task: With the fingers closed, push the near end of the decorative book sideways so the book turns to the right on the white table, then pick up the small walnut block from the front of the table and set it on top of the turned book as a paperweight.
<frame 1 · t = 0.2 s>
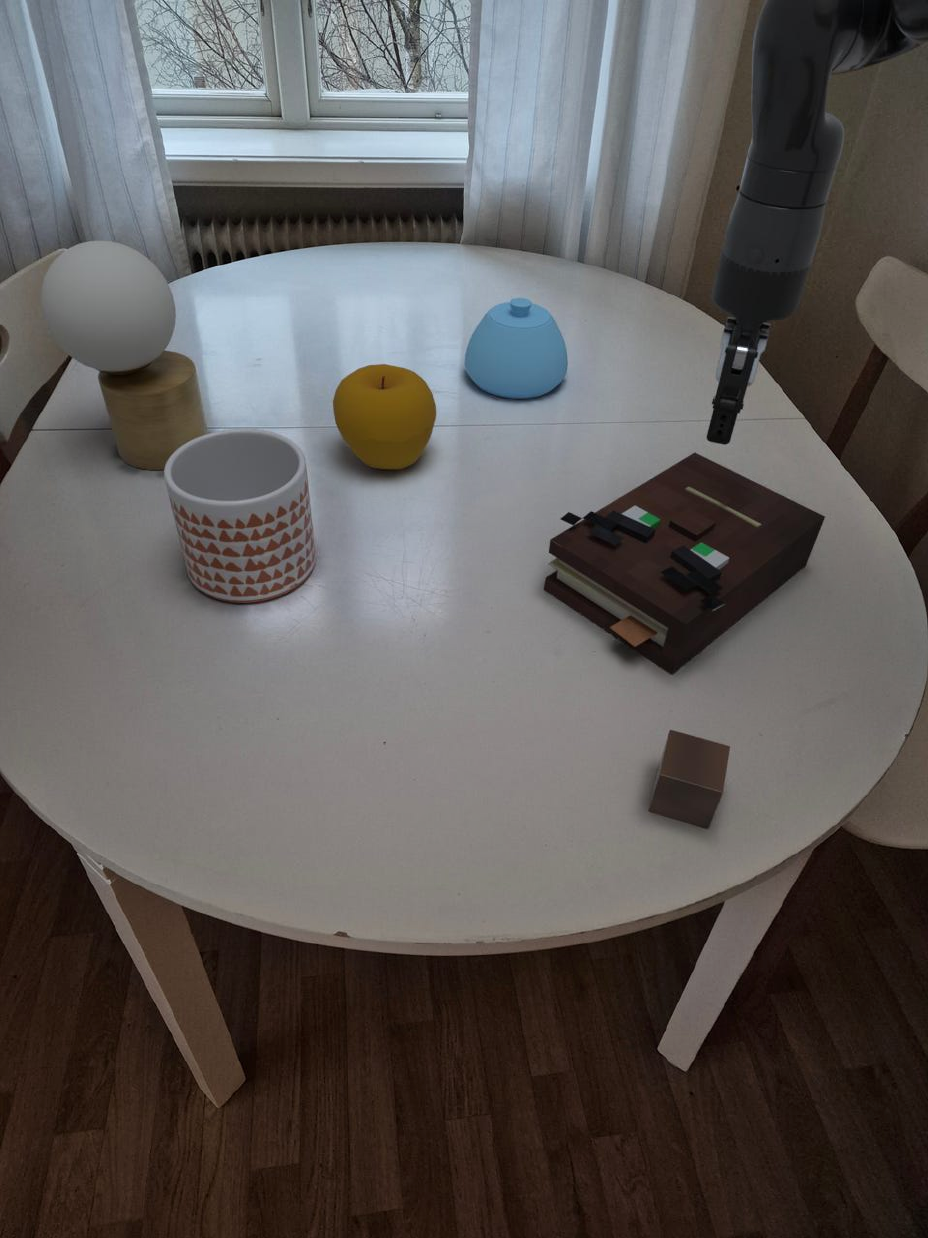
hand: (722, 420, 85), 18 cm above the table, tool pointing down, fingers open, 8 cm apart
lamp: (149, 447, 110), on the table
apple: (386, 458, 110), on the table
planter: (252, 564, 94), on the table
sugar bowl: (514, 379, 127), on the table
walnut block: (682, 796, 73), on the table
decorative book: (677, 578, 94), on the table
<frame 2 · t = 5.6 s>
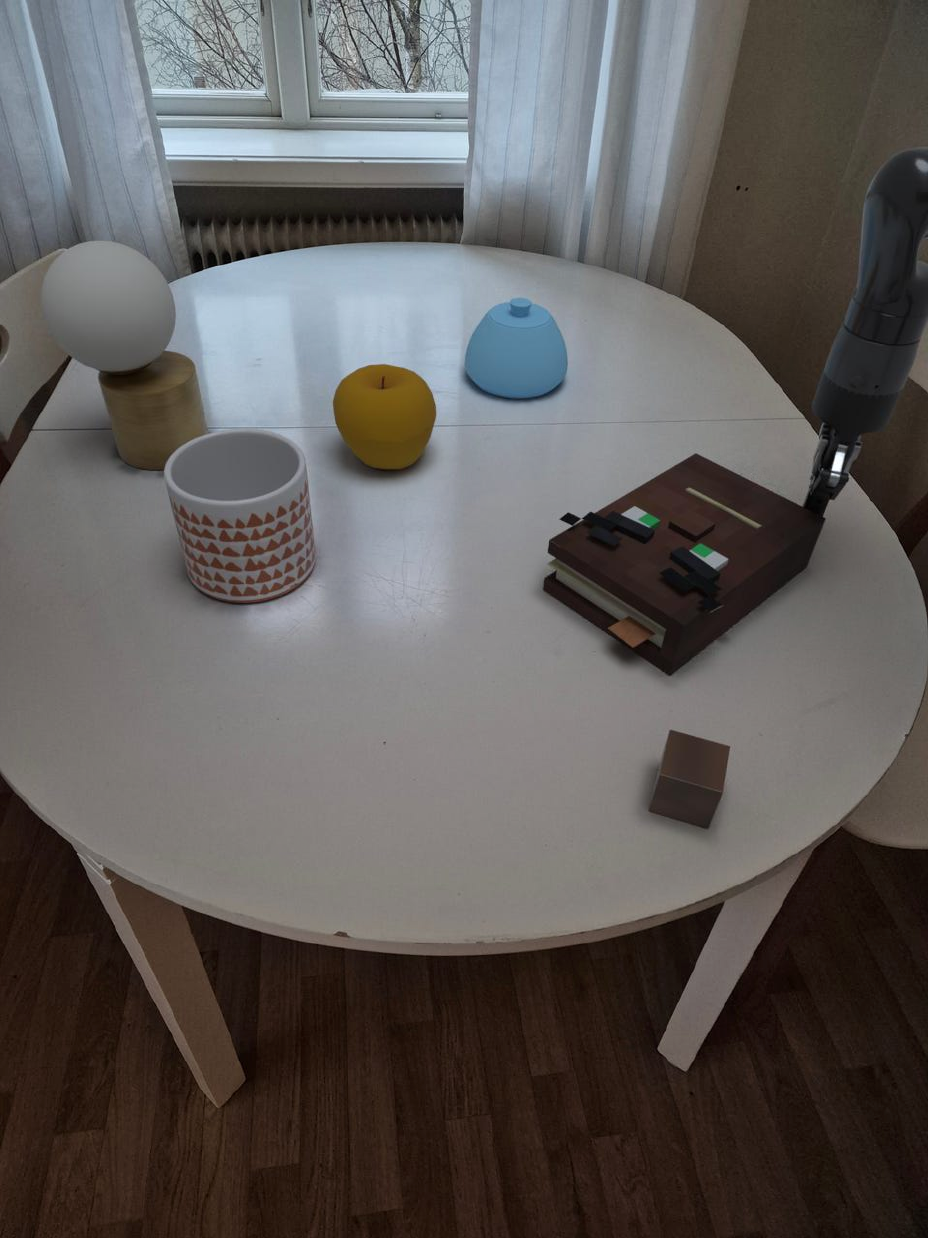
hand: (810, 516, 96), 5 cm above the table, tool pointing down, fingers closed
decorative book: (677, 579, 94), on the table, touching gripper
everything else where it was.
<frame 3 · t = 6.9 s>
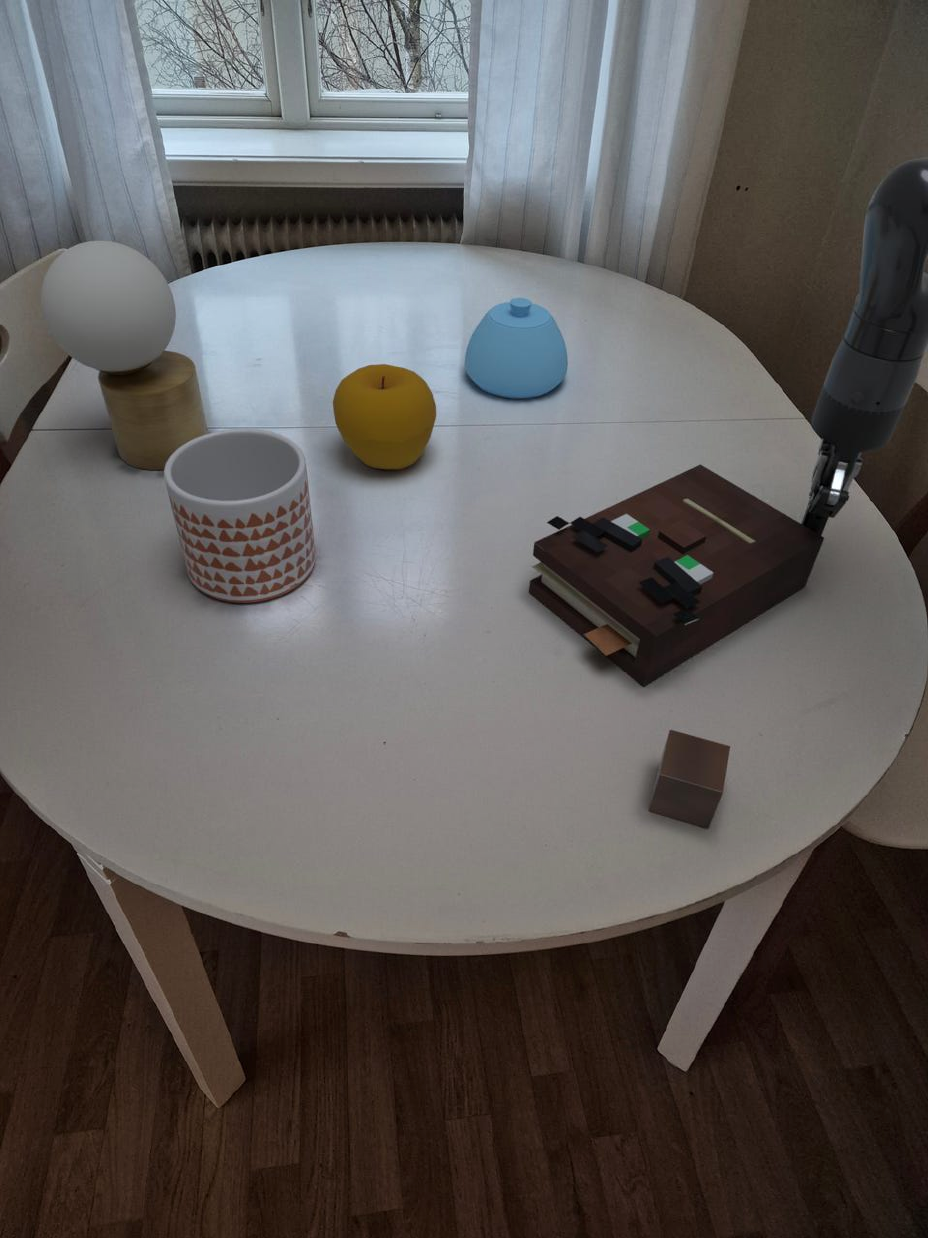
hand: (809, 533, 93), 5 cm above the table, tool pointing down, fingers closed
decorative book: (668, 591, 93), on the table, touching gripper
everything else where it was.
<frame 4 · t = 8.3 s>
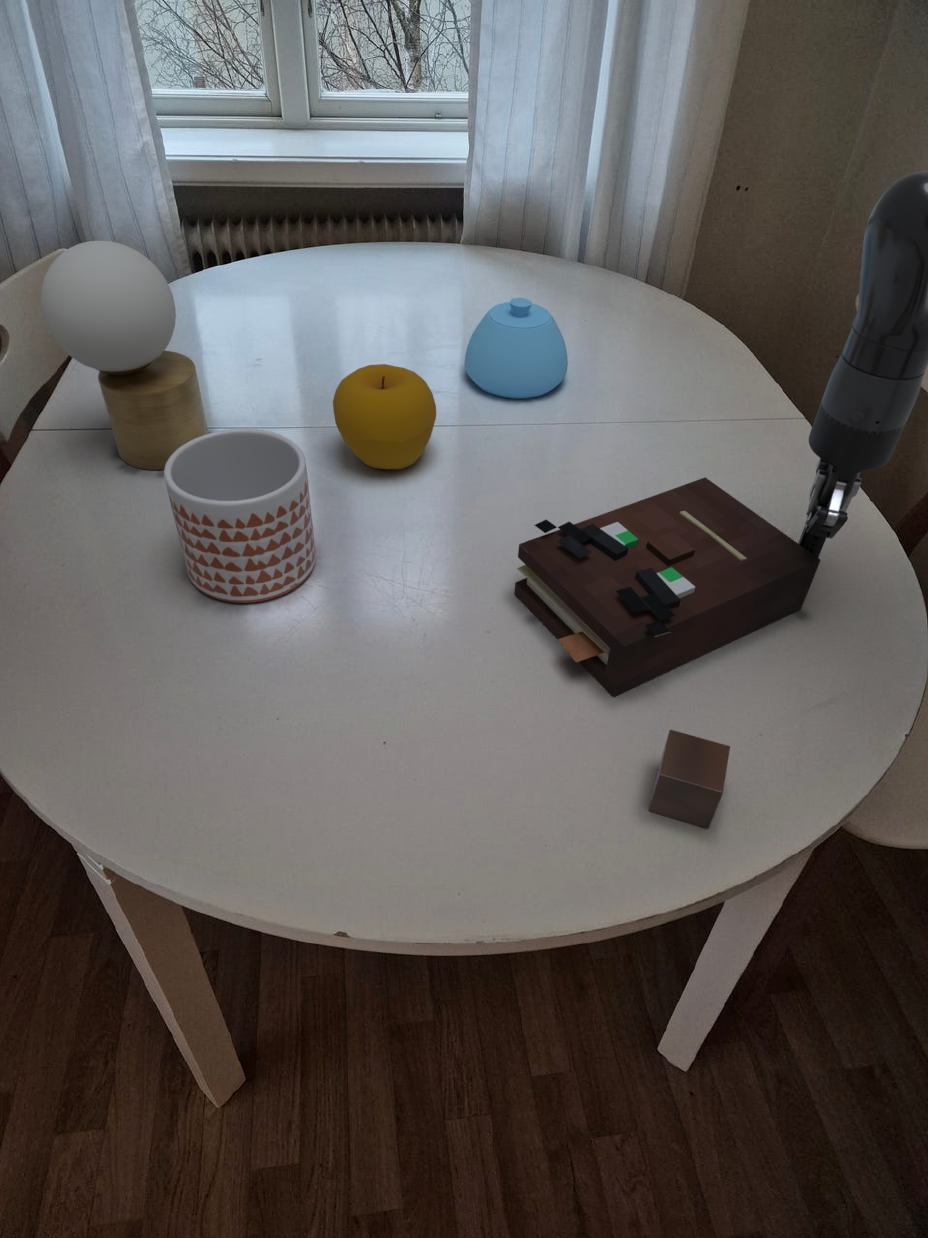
hand: (806, 553, 90), 5 cm above the table, tool pointing down, fingers closed
decorative book: (656, 603, 91), on the table, touching gripper
everything else where it was.
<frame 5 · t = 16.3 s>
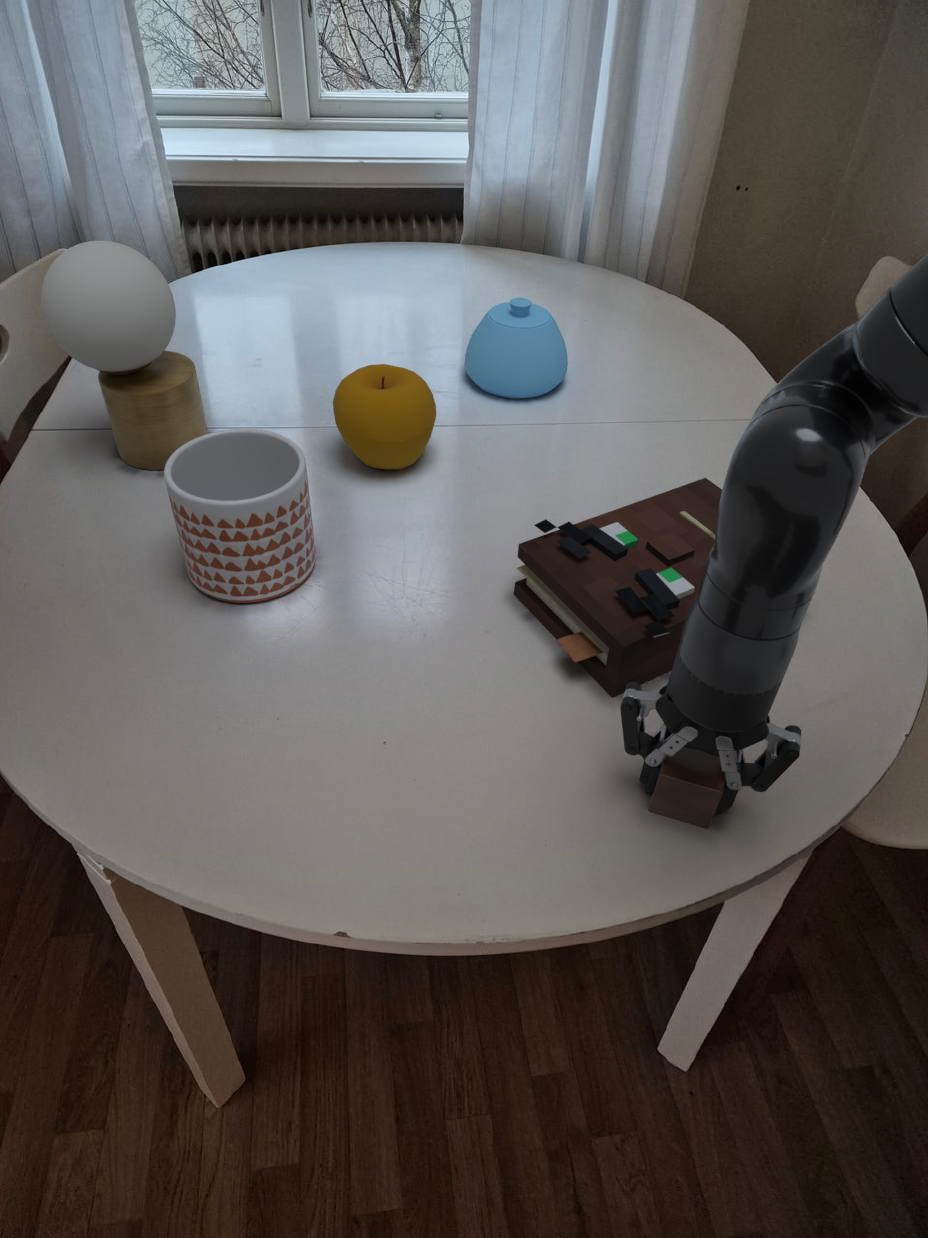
hand: (684, 793, 73), 0 cm above the table, tool pointing down, fingers closed on walnut block, 5 cm apart
walnut block: (682, 796, 73), on the table, touching gripper
decorative book: (656, 603, 91), on the table
everything else where it was.
when the fingers open (8 cm above the table, at t = 24.2 s): walnut block stays where it is, resting on decorative book.
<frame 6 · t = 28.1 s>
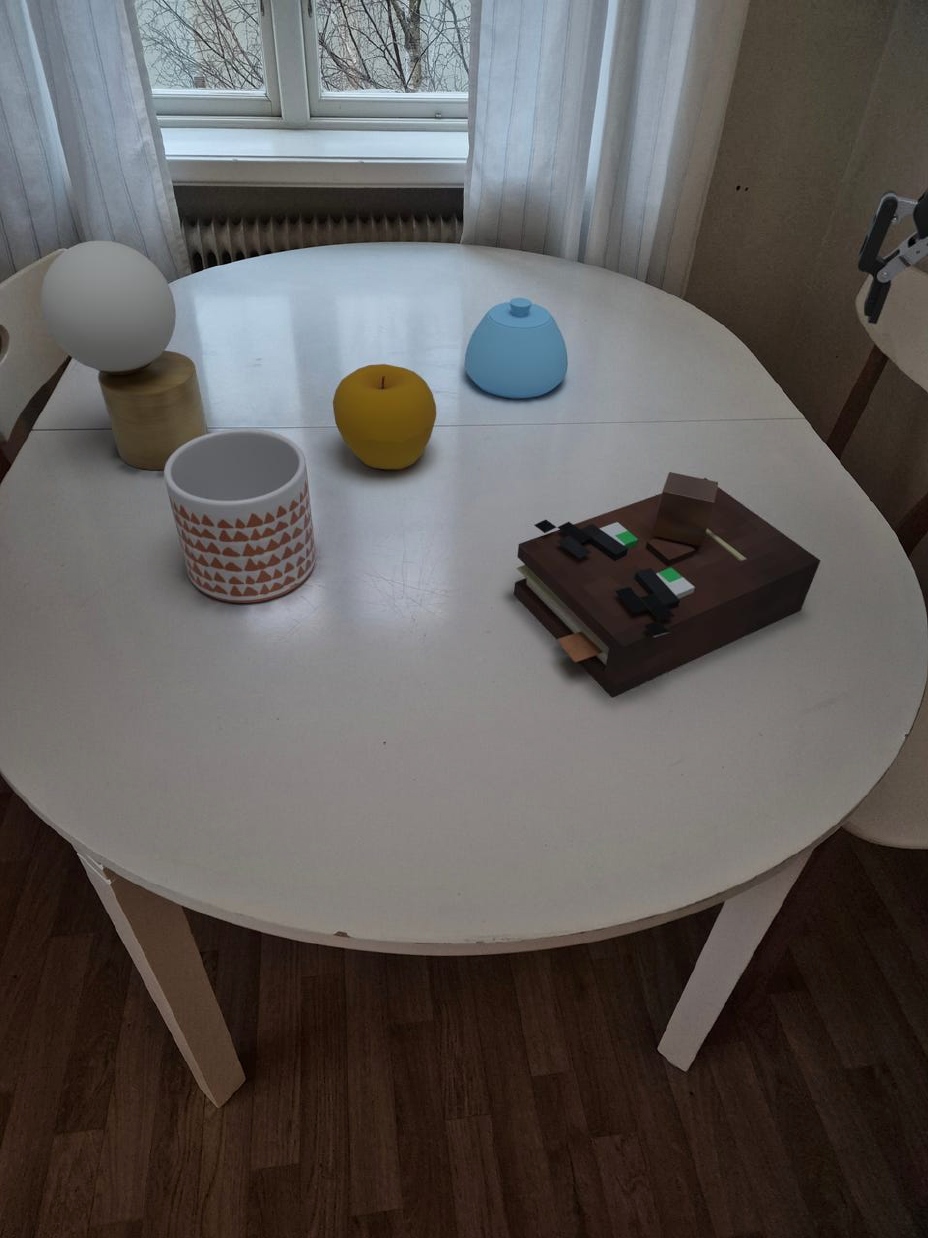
hand: (922, 328, 77), 28 cm above the table, tool pointing down, fingers open, 8 cm apart
walnut block: (679, 530, 88), point 8 cm above the table, tilted 9°, touching decorative book
decorative book: (656, 603, 91), on the table, touching walnut block
everything else where it was.
at the end: decorative book moved 5.2 cm from its start; decorative book on the table; walnut block inside the target area on the decorative book (2.9 cm from its centre), point 7.7 cm above the decorative book's base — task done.
